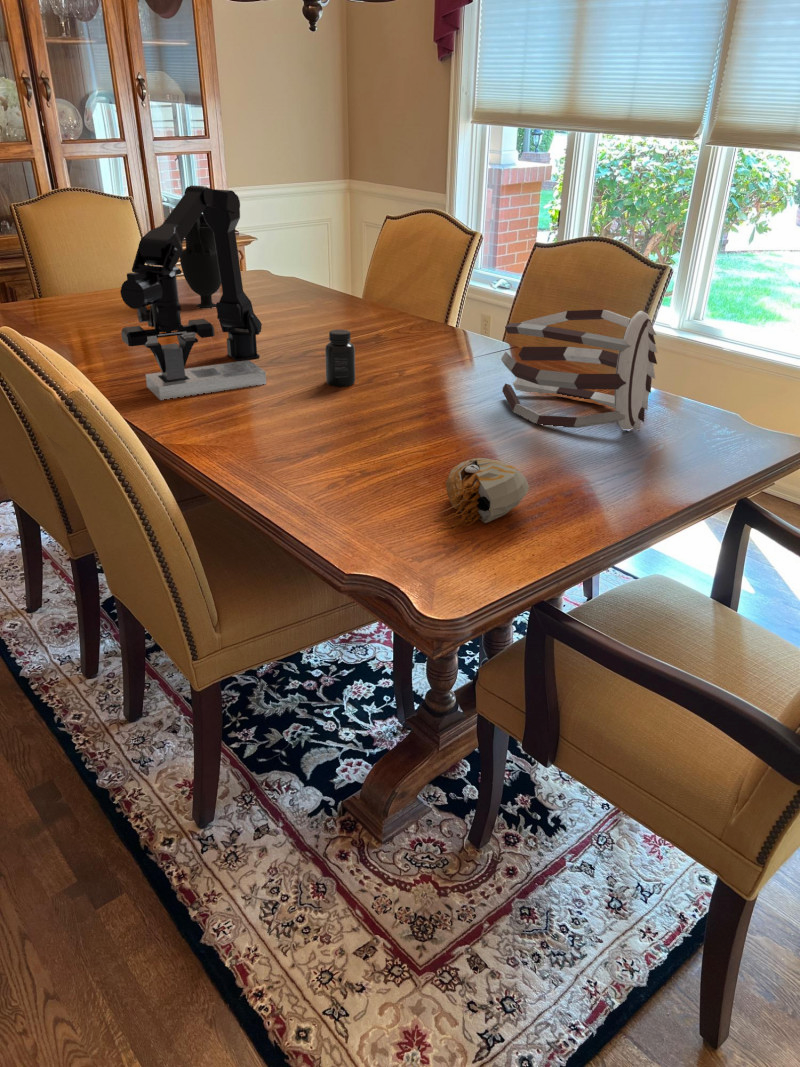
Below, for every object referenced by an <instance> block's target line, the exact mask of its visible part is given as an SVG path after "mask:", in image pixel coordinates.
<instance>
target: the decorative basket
mask: <svg viewBox="0 0 800 1067" xmlns="http://www.w3.org/2000/svg"><path fill="white" fill-rule="evenodd" d="M584 320H585V321H587V320H605V321H609V322H611V323H614V324H616V325H619V326H621V327H625V328H626V329H625V331H624V334H623V337H622V338H617V337H613V336H607V335H603V334H602V335H601V334H598V333H597V334H596V333H590V332H585V331H580V330H574V329H568V328H561V327H555V326H550V325H555V324H558V323H562V322H567V321H584ZM504 328H505V330H506V333H507V334H513V335H515V334H516V335H522V336H523V335H524V336H530V337H531V336H532V337H537V338H538V337H539V338H546V339H551V340H557V341H563V342H569V343H575V344H579V345H586V346H590V347H591V346H592V347H597V348H601V349H597V348H589V347H588V348H587V347H576V346H575V347H574V346H522V347H521V350H520V351H519V353H518V357H519V358H520V360H521V361H524V362H525V361H536V362H537V361H539V362H541V361H543V362H544V361H546V362H547V361H550V362H551V361H561V362H562V361H565V362H567V361H568V362H578V363H586V364H587V363H589V364H599V365H603V366H607V367H612V368H614V369H615V373H575V372H565V371H556V370H554V371H553V370H546V369H540V368H536V367H532V366H530V365H527V364H523V363H520V362H517V361H516V360H515V359H514V358H513V357H512V356H511V355H510V354H509V353H508V352H507V351H505V352H504V354H503V355H502V356H501V359H500V360H501V362H502V363H503V364H504V366H505V367H506V368H507V369H508V370H509V372H510V373H511V374H512V375H513V376H514V377H515V378H516V379H515V381H514V382H513V383H512V385H513V387H514V389H515V390H516V391H519V392H526V393H531V392H538V393H556V394H562V395H567V396H573V397H579V398H584V399H591V400H594V401H596V402H599V403H602V404H605V405H608V406H610V407H613V408H615V409H614V411H608V412H603V413H596V414H595V413H594V414H589V415H584V416H583V415H582V416H577V417H576V416H559V415H558V416H557V415H542V414H540V413H539V412H536V411H535V410H533V409H530V408H529V407H526V406H524V405H523V404H521V401H520V399H519V398H518V395H517V394H516V393H515V390H514V389H513V387H512V385H511V384H508V383H505V384H504V385H503V386H502V393H503V396H504V397H505V399H506V401H507V403H508V406H509V408H510V409H511V411H512V412H513V413H514V414H516V413H517V415H518V414H519V415H518V416H520V415H521V416H520V417H522V416H523V417H522V418H524V419H526V420H528V419H529V420H528V421H530V422H532V423H533V424H535V423H536V425H538V424H543V425H553V426H552V427H556V426H563V427H562V428H573V429H575V428H576V429H579V428H580V429H581V428H585V427H593V426H599V425H605V424H611V423H616V422H618V425H619V427H620V428H623V429H631V428H633V429H635V430H636V429H640V428H641V426H640V425H641V422H642V423H645V412H646V411H648V409H649V405H648V404H649V395H650V394H652V392H651V390H652V380H653V379H656V376H655V374H656V373H655V368H654V367H655V364H656V365H658V362H657V359H656V354H658V350H657V346H656V340H655V336H657V334H656V332H655V329H654V327H653V324H652V321H651V318H650V316H649V314H648V313H646V312H645V311H643V310H639V311H638V312H636V313H635V315H633V316H632V318H629V317H627V316H624V315H621V314H618V313H616V312H613V311H611V310H607V309H586V310H585V309H584V310H583V309H582V310H580V309H579V310H564V311H562V312H561V311H560V312H557V313H552V314H548V315H544V316H540V317H536V318H533V319H528V320H524V321H521V322H509V323H508V324H507V325H505V326H504ZM605 349H607V350H605ZM609 350H611V351H609ZM612 350H613V351H618V353H615V352H612ZM592 390H614V394H607V393H602V392H599V391H592ZM645 410H646V411H645Z"/></svg>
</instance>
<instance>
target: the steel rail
mask: <svg viewBox="0 0 800 1067" xmlns="http://www.w3.org/2000/svg"><path fill="white" fill-rule="evenodd" d="M184 370H185V379H186V380H181V381H174V382H167V383H165V382H164V381H163V380H162V371H159V372H153V373H152V372H151V373H146V374H145V380H146V381H145V382H146V388H147V389H148V390H149V391H151V392H152V394H153V395H154V396H156V397H157V399H158V400H159V401H165V400H164V399H167V400H171V399H170V398H173V399H178V398H177V397H180V398H185V397H184V396H186V397H191V396H190V395H192V396H198V395H197V394H199V395H204V394H203V393H205V394H210V393H211V392H212V393H217V392H223V391H224V390H225V391H230V389H231V390H237V388H238V389H243V387H244V388H249V386H251V387H256V385H257V386H263V384H264V385H267V375H266V370H264V369H263V368H261V367H260V366H258V365H257V364H255V363H254V362H252V361H251V360H250V359H245V360H238V361H232V362H224V363H217V364H210V365H202V366H197V367H196V366H195V367H188V368H184Z"/></svg>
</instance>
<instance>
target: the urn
mask: <svg viewBox="0 0 800 1067" xmlns="http://www.w3.org/2000/svg"><path fill="white" fill-rule="evenodd" d="M184 240H185V249H183V252H182V254H181V256H180V258H179V263H180V266H181V271H182V274H183V277H184V279H185V282H186V283H187V285H188V286H189V288H190V289H191V290H192V291H193V292H194V293H195V294H197V295H199V297H200V303H198V304H196V306H197V307H200V308H199V309H202V308H210V309H213V308H212V307H216V303H214V302H213V298H212V295H214V294H215V293H216V292H218V290H220V287H222V286H221V279H220V273H219V266H218V259H217V253H216V246H215V239H214V233H213V231H212V229H211V228H210V227H209V225H208V224H207V223H206V221H205V219H204V216H203V213H202V214H201V215H200V217H199V218H198V219H197V221H196V222H195V224H194V225H193V227H192V228H191V229H190V231H189V232H188V234H187V235H186V237H185V238H184ZM197 307H196V308H197Z"/></svg>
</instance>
